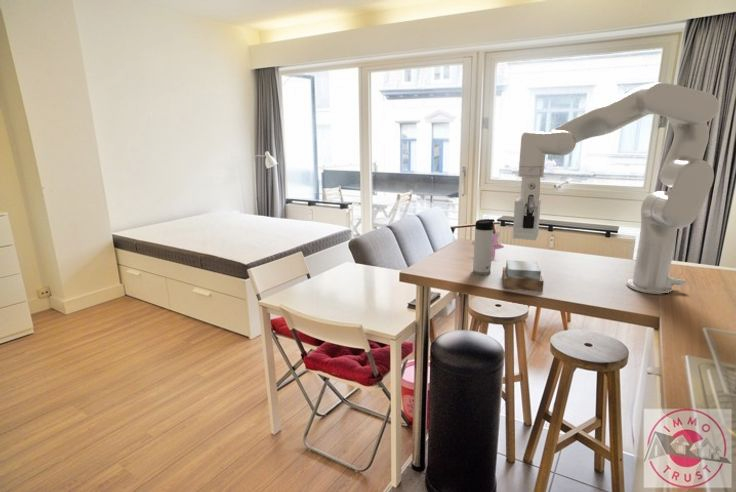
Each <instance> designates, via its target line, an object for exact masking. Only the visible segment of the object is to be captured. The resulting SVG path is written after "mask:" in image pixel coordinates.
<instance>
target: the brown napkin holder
mask: <svg viewBox="0 0 736 492" xmlns="http://www.w3.org/2000/svg"><path fill="white" fill-rule="evenodd" d="M505 263H506V264H505V267H504V266H503V267H502V275H501V276H502V283H503V284H502V285H503V288H504V289H505V290H518V289H521V291H535V292H536V291H537V292H543V290H544V278H543V276H542V271H541V269H540V266H539V263H538V262H537V261H531V260H530V261H528V260H527V261H526V260H512V259H511V260H510V259H508V260H506V262H505Z"/></svg>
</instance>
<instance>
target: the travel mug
mask: <svg viewBox="0 0 736 492" xmlns="http://www.w3.org/2000/svg"><path fill="white" fill-rule="evenodd" d="M495 221H496V220H495V219H494V218H492V219H491V218H490V219H489V218H484V219H478V220H476V221H475V228H474V241H473V242H474V245H473V259H472V260H473V262H472V263H473V264H472V265H473V266H472V273H474V274H475V275H479V276H488V275H490V274H491V267H492V259H491V255H492V239H493V234H494V223H496V222H495Z"/></svg>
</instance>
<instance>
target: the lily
mask: <svg viewBox="0 0 736 492" xmlns="http://www.w3.org/2000/svg"><path fill="white" fill-rule="evenodd" d="M500 232H501V231H500ZM500 232H499V231H497V232H495V233H494V232H493V239H492V255H491V260H493V261H494V260H495V258H496V251H497V250H500V249H503V248H505V246H504V245H503V244H501V243H499V242H498V240H499V237H500ZM471 245H473V246H474V241H472V242H471Z"/></svg>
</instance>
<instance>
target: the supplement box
mask: <svg viewBox="0 0 736 492" xmlns="http://www.w3.org/2000/svg"><path fill="white" fill-rule="evenodd" d="M528 201H529V200H528ZM533 203H534V202H533ZM541 203H542V199H541V198H539V208H537V207H535V205H534V227H533V229H527V228H523V217H524V216H525V208H523V204H522V200H521V197H518V198H516V200H515V201H514V211H513V212H514V213H513V224H512V225H513V228H512V239H516V240H524V241H525V240H527V241H537V238H538V236H539V229H540V228H539V227H540V217H541V216H540V214H541ZM526 206H529V202H527V204H526Z"/></svg>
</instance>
